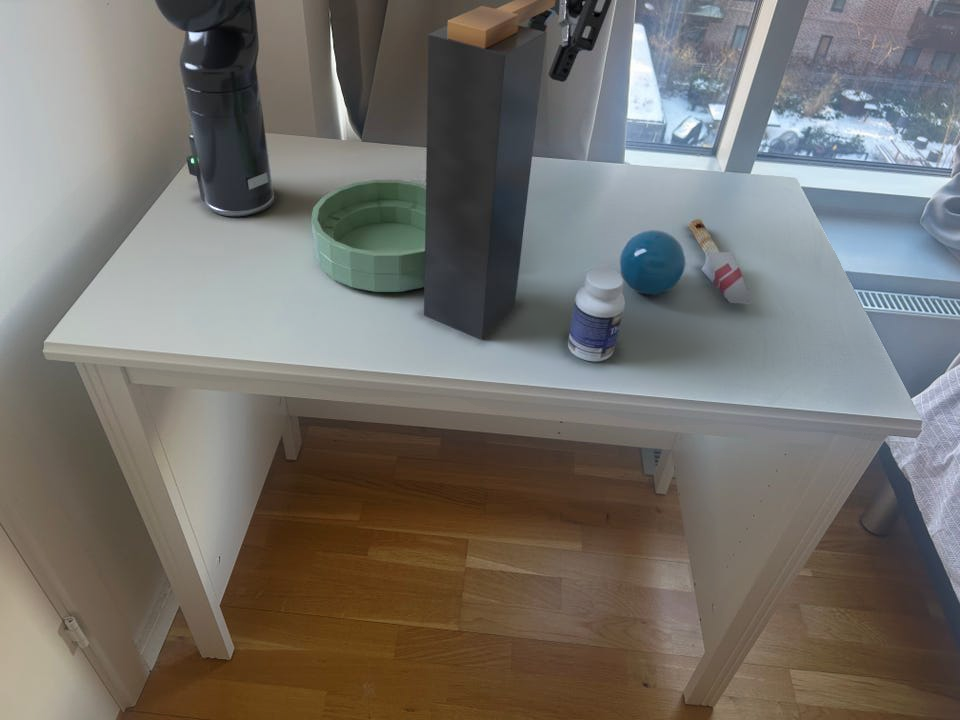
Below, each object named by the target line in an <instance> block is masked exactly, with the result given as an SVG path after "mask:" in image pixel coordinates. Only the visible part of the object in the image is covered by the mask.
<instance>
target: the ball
mask: <svg viewBox="0 0 960 720" xmlns="http://www.w3.org/2000/svg"><path fill="white" fill-rule="evenodd" d="M620 253H621V254H620V257H619V267H620V273H621V274H620V275H621V276H622V278H623V281H625V282H626V284H627V286H629V288H631V289H633V290H634V291H636V292H638V293H639V294H643V295H647V296H648V295H650V296H654V295H660V294H663V293H666V292H668V291H669V290H671V289H673V288H674V287H675V286H676V285H677V284H678V282H679V281H681V280H680V279H681V278H682V277H683V274H684V272H685V269H686V256H685V252H684V249H683V246H682V245H681V243H680V241H678V240H677V239H676V237H674V236H673V235H672V234H670V233H668V232H665V231H662V230H657V229H650V230H645V231H642V232H640V233H637V234H636V235H633V237H632V236H631V238H630V239H629V240H628V242H626V244H625V245H624V247H623V249H622V250H621V252H620Z"/></svg>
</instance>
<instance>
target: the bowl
mask: <svg viewBox="0 0 960 720" xmlns="http://www.w3.org/2000/svg"><path fill="white" fill-rule="evenodd" d="M425 217H426V184H422V183H419V182H413V181H407V180H401V179H371V180H365V181H357V182H353V183H350V184H346V185H343V186H341V187H337V188H335V189H334V190H332V191H330V192H329V193H326V194H325V195H324V196H322V197H321V198H320V199H319V200H318V202H317V203H316V204H315V205H314V206H313V208H312V213H311V219H310V223H311V225H310V226H311V234H312V243H313V245H312V246H313V255H314V257H315V260H316V262H317V264H318V266H319V269H321V271H323V272H324V273H325V274H326V275H328V276H329V277H330V278H331V279H332V280H334V281H336V282H339V283H341V284H343V285H345V286H348V287H351V288H353V289H359V290H364V291H370V292H374V293H375V292H376V293H396V292H397V293H400V292H401V293H402V292H406V291H412V290H416V289H422V288H424V280H425Z"/></svg>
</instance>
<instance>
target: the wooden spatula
mask: <svg viewBox="0 0 960 720" xmlns="http://www.w3.org/2000/svg"><path fill="white" fill-rule="evenodd" d="M554 6H555V0H512V1H510V2H508V3H505V4H504V5H501V6H499V7H497V8H494V7H488V6H486V5H481V6H478V7H476V8H474V9H472V10H469V11H467V12H464V13H462V14H460V15H457V16H455V17H452V18H451V19H448V20H447V26H448V30H447V39H450V40H454V41H457V42H461V43H465V44H469V45H472V46H476V47H480V48H484V49H486V48H488V47H490V46H492V45H494V44H496V43H498V42H500V41H502V40H504V39H506V38H507V37H509V36H511V35H513V34H515V33H517V32H518V25H520V24H523V23H524V22H526V21H529V20H530V18H532V17H534V16H536V15H538V14H540V13H542V12H544V11H546V10H548V9H550V8H552V7H554Z"/></svg>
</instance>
